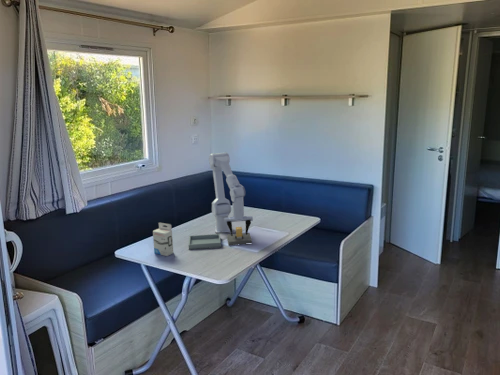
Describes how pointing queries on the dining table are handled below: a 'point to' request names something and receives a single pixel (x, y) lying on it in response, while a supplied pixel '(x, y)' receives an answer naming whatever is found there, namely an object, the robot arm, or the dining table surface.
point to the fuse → (239, 232)
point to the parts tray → (204, 241)
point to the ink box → (163, 240)
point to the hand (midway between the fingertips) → (239, 234)
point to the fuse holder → (234, 241)
